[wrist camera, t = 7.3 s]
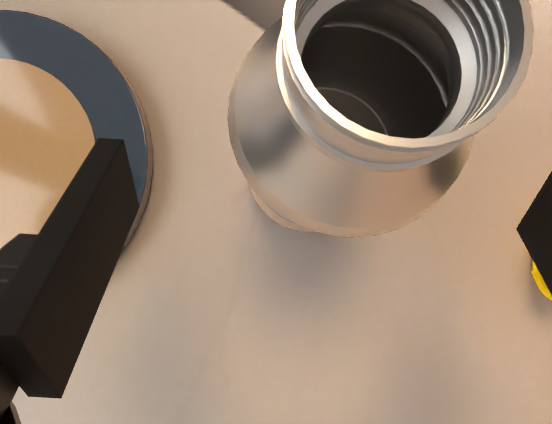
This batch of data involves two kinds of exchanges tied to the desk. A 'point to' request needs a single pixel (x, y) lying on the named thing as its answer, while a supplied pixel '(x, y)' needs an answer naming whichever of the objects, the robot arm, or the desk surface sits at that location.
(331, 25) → the silver metal bottle
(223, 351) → the desk surface
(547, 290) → the watch
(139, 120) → the plate
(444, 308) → the desk surface
